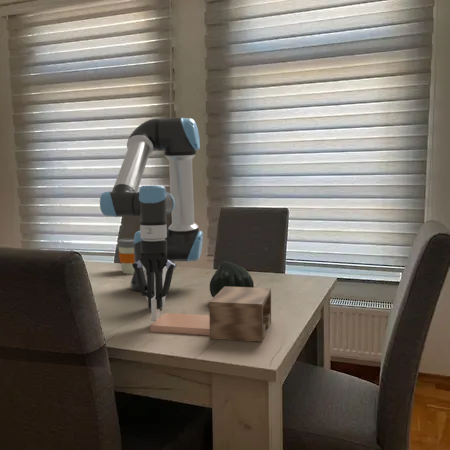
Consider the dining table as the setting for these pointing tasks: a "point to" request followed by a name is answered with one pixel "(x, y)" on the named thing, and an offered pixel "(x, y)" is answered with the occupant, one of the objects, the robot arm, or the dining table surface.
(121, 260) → the reusable coffee cup
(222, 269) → the squash
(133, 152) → the robot arm
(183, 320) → the tile
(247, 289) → the shelf
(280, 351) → the dining table surface
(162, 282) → the shell sculpture
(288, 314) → the dining table surface
